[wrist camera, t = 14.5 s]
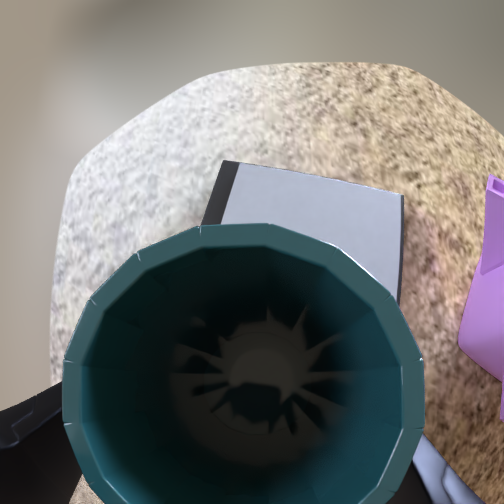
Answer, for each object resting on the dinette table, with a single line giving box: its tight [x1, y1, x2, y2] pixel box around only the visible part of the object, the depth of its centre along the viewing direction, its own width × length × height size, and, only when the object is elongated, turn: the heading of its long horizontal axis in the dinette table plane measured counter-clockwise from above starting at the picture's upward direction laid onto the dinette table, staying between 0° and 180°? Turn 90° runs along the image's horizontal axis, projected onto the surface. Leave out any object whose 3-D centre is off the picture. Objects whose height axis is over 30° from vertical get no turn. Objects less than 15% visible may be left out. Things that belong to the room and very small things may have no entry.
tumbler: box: [62, 223, 425, 504], centre depth 11 cm, size 7×7×13 cm
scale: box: [201, 160, 404, 306], centre depth 20 cm, size 14×20×3 cm
